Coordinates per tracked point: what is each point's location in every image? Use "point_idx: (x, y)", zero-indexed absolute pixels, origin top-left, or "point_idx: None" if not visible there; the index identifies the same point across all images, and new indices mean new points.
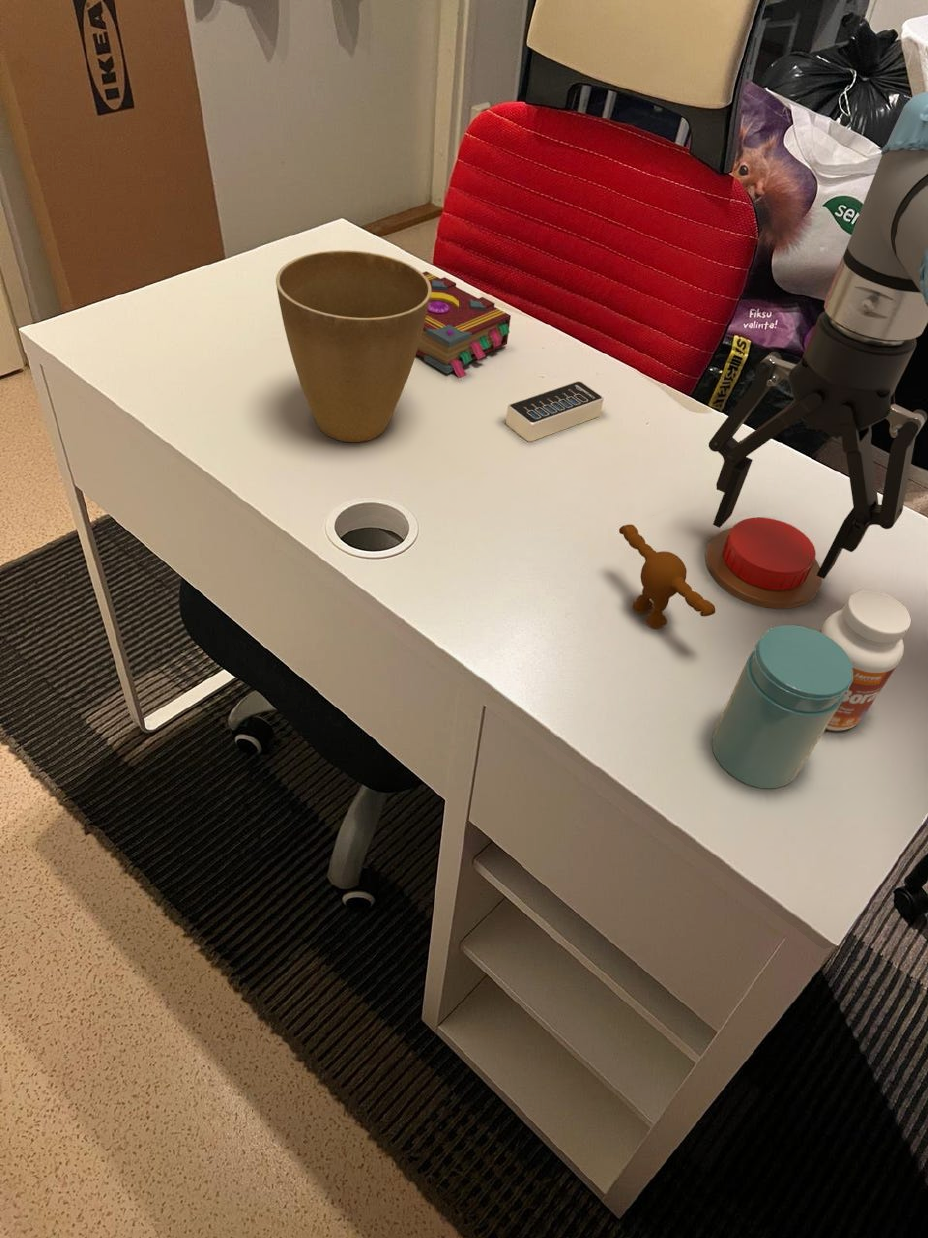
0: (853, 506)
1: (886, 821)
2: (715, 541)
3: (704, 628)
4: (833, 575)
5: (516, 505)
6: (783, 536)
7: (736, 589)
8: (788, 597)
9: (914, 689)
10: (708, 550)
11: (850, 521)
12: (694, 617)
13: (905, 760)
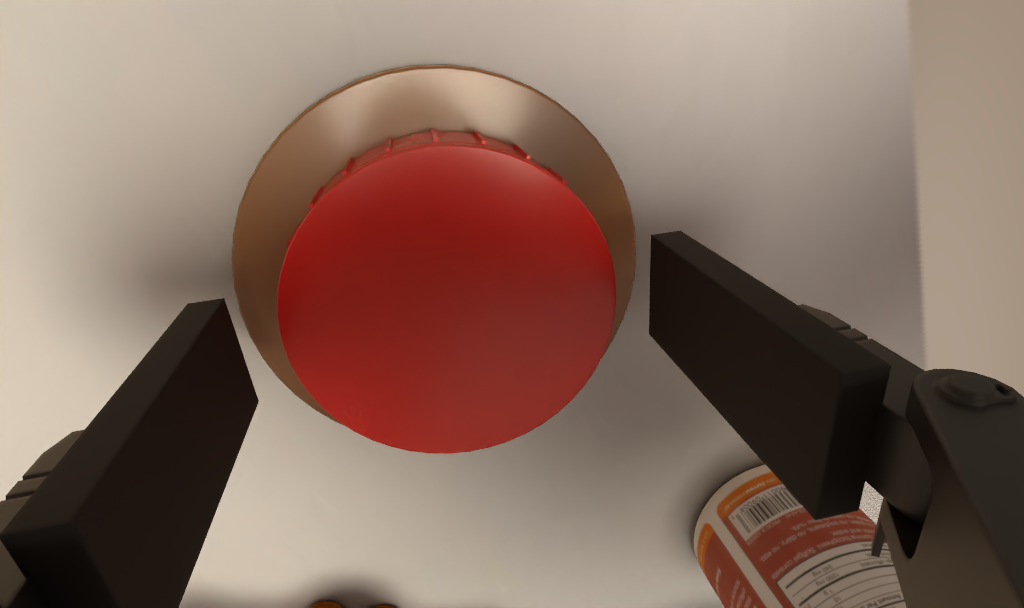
0: (901, 588)
1: None
2: (263, 326)
3: (468, 554)
4: (637, 98)
5: None
6: (461, 245)
7: None
8: None
9: (916, 340)
10: (282, 378)
11: (846, 504)
12: (430, 549)
13: None
